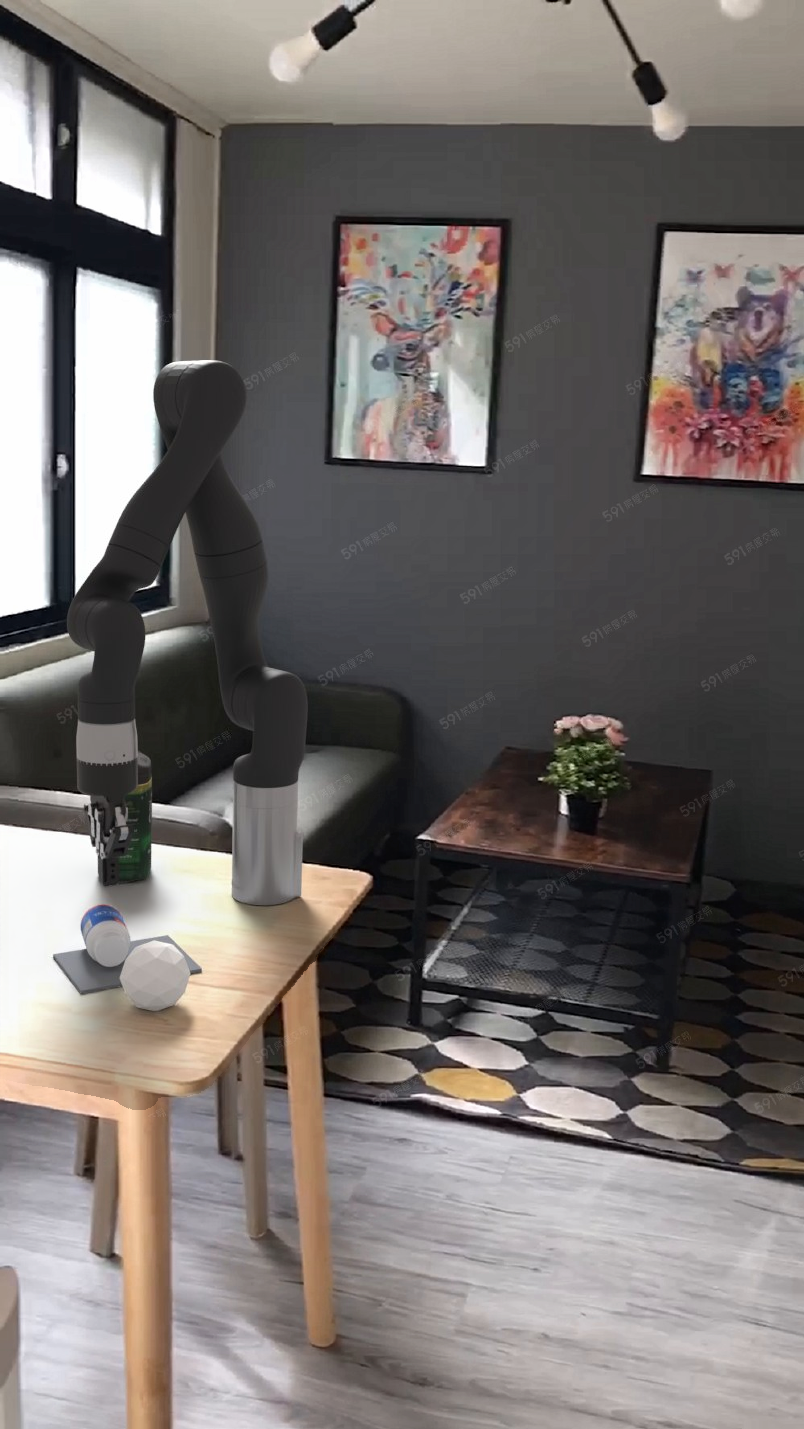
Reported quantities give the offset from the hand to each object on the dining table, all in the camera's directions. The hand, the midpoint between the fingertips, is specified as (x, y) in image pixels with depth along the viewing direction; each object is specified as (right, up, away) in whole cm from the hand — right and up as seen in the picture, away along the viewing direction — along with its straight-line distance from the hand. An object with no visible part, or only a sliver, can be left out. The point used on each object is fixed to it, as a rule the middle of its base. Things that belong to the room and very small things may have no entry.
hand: (109, 883), depth 163 cm
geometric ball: (+9, -12, -18) cm, 23 cm away
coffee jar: (-4, -2, +26) cm, 26 cm away
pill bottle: (-1, -5, -2) cm, 5 cm away
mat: (+4, -9, -7) cm, 12 cm away
